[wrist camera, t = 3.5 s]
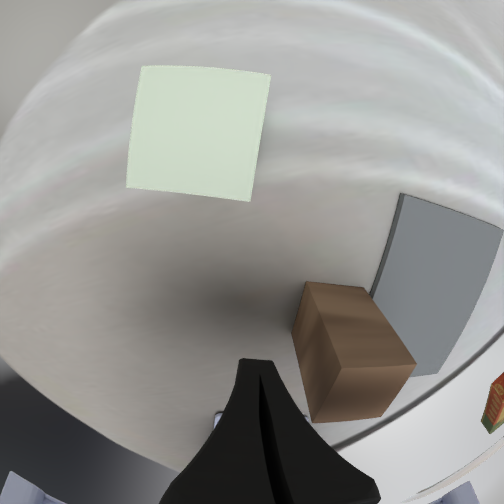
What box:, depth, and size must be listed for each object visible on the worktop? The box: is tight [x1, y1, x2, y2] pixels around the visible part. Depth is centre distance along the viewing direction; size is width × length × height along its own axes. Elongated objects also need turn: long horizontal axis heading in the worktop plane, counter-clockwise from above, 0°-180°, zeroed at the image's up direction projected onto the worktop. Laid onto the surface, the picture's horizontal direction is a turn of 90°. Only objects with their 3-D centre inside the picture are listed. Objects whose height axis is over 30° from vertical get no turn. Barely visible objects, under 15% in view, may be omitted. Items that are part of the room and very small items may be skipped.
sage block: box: [126, 66, 271, 202], centre depth 10 cm, size 4×4×6 cm
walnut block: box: [291, 281, 417, 423], centre depth 13 cm, size 4×4×7 cm
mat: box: [370, 193, 504, 377], centre depth 17 cm, size 14×11×1 cm
